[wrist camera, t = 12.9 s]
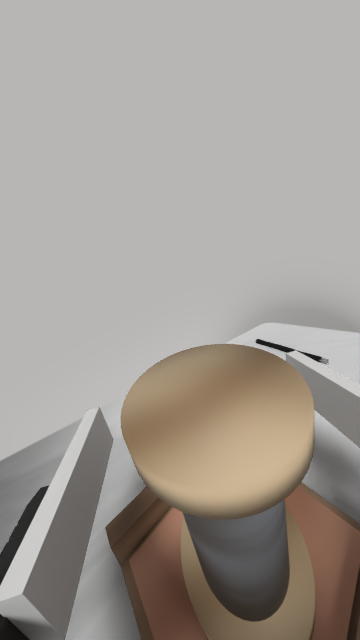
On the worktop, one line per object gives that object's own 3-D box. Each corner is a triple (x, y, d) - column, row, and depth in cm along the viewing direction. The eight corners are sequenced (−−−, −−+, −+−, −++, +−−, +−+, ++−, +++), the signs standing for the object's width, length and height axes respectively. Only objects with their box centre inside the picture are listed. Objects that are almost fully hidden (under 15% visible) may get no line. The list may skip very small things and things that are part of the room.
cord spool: (163, 546, 11) (99, 395, 8) (228, 461, 15) (204, 336, 12) (274, 780, 6) (219, 609, 2) (333, 554, 10) (342, 368, 6)
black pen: (329, 363, 26) (329, 357, 26) (325, 366, 26) (325, 360, 25) (259, 342, 37) (258, 338, 37) (255, 344, 36) (255, 339, 36)
